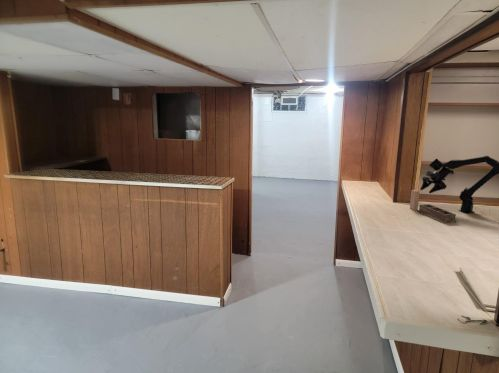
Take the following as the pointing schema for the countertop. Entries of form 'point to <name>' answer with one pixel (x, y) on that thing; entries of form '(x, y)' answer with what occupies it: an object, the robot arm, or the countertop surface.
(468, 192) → the robot arm
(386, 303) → the countertop surface
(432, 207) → the compartment tray
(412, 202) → the clay block
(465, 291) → the countertop surface
